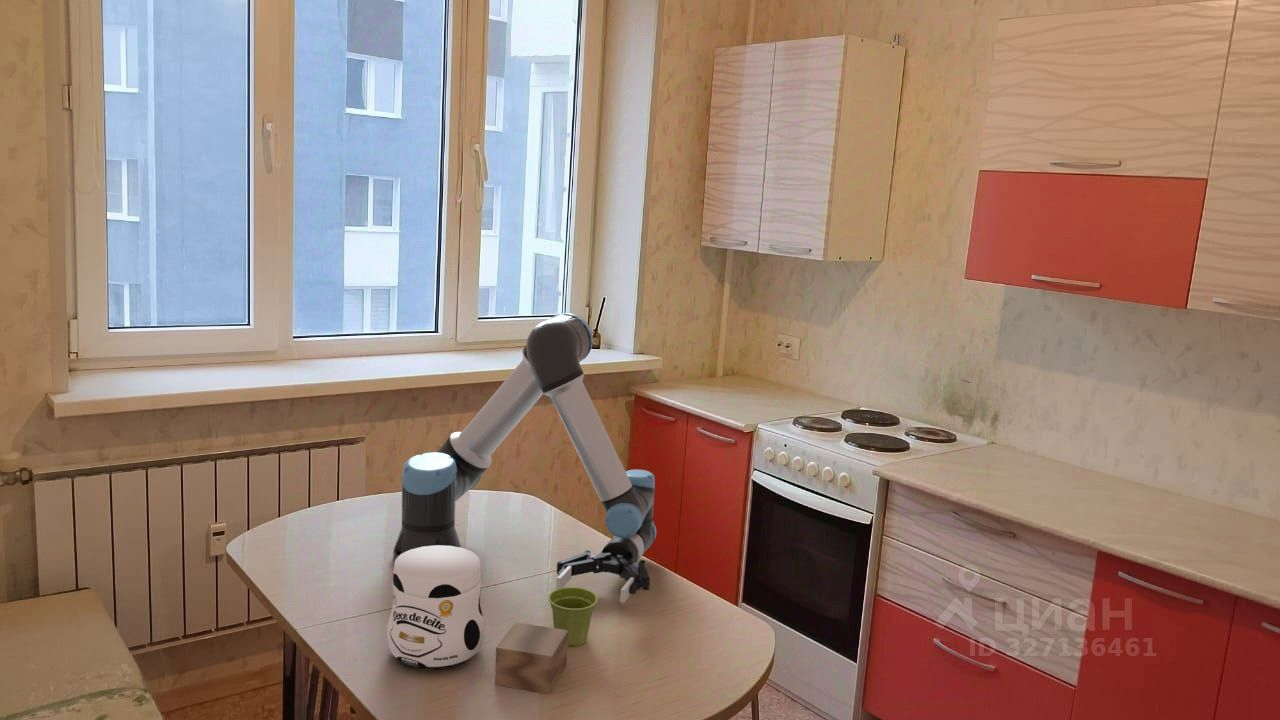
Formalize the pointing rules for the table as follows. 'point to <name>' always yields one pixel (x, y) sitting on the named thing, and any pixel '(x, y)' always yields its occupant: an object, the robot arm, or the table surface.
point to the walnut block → (531, 657)
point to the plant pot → (573, 612)
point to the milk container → (436, 607)
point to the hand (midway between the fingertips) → (589, 590)
